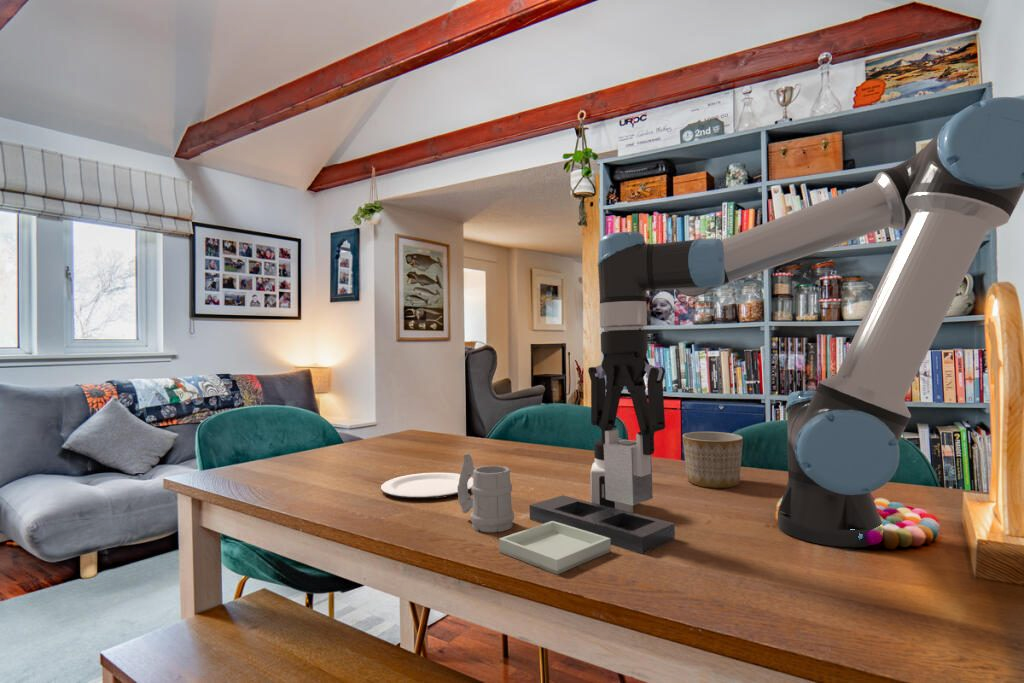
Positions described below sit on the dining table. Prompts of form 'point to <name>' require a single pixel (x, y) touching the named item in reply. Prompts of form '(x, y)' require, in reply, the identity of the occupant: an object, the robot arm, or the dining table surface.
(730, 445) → the planter
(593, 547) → the tray
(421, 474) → the plate
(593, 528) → the peg socket board
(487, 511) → the mug
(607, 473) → the tall square peg
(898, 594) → the dining table surface
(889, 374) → the robot arm
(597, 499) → the container
